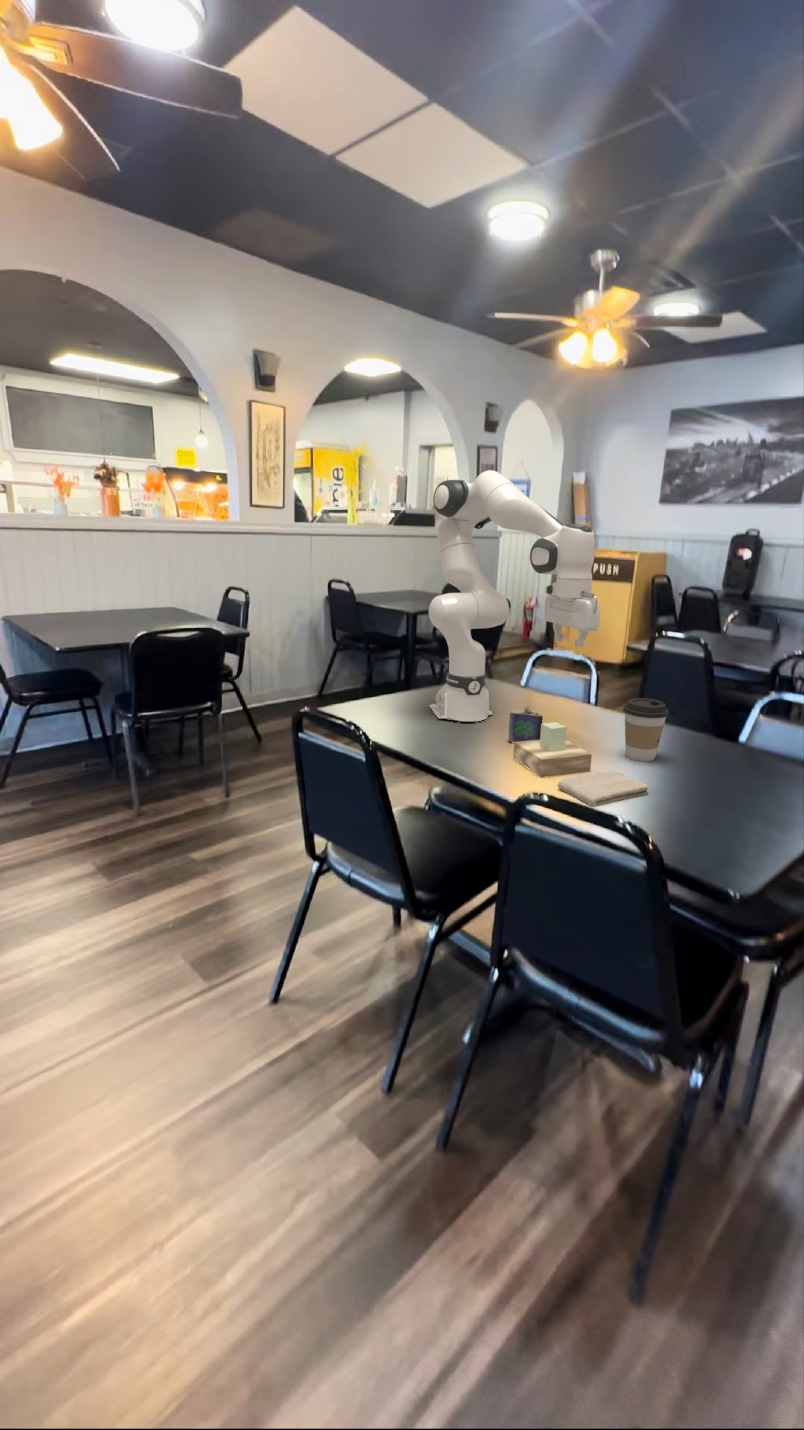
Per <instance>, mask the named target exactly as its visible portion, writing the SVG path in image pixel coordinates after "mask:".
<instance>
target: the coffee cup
mask: <svg viewBox="0 0 804 1430" xmlns="http://www.w3.org/2000/svg"><path fill="white" fill-rule="evenodd" d="M666 707H667V706H666V703H665V702H663V701H660V700H658V699H653V698H645V697H644V698H642V697H639V698H637V697H636V698H631V699H629V700H628V701H627V704H625V705H623V708H622V712H624V734H625V735H624V736H625V737H624V738H625V754H626V755H625V756H626V757H627V758H628V759H630V760H632V761H635V762H636V761H637V762H642V763H643V762H645V763H647V762H653V761H654V760H655V758H656V756H657V751H658V748H659V744H660V741H661V737H662V733H663V730H664V725H665V722H666V719H667V717H668V716H669V715H670V714H669V709H668V708H666Z"/></svg>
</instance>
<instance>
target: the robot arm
mask: <svg viewBox="0 0 804 1430" xmlns="http://www.w3.org/2000/svg"><path fill="white" fill-rule="evenodd" d="M432 498H433V499H432V503H433V508H434V510H435V512H437V514H439V515H441V516H443V517H445V518H444V519H443V520H441V521H440V523H439V524H438V526H437V544H438V545H437V546H438V553H439V559H440V563H441V569H442V573H443V574H442V575H443V577H444V580H445V581H446V582H447V583H448V584H450V585H451V586H453V587H454V588H456V589H458V591H460V592H448V593H444V594H439V595H437V596H435V597H433V598H432V600H431V602H430V604H429V607H428V617H429V620H430V622H431V624H432V625H433V627H435V628H436V629H438V630H439V632H440V633H441V634H442V635H443V637H444V638H445V640H446V643H447V647H448V658H449V659H448V661H449V662H448V670H449V671H448V672H446V677H445V678H446V679H445V684H444V685H443V686H442V687H441V688H440V689H439V690H438V691H437V694H435V695H434V702H435V703H431V704H429V707H431V709H432V710H433V711H434V713H435V714H436V715H437V717H439V718H451V719H454V720H459V721H481V720H484V719H486V718H487V717H488V715H492V716H493V711H491V710H490V698H489V697H490V696H489V690H488V689H487V688H486V687H485V686H486V685H487V684H486V682H487V674H486V672H485V671H486V654H487V653H486V650H485V648H484V646H483V644H481V643H480V642H479V641H476V640H474V639H473V638H472V634H471V632H472V630H474V629H475V630H476V629H490V628H494V627H497V626H501V625H504V624H505V622H506V621H507V619H508V617H509V615H510V614H509V613H510V606H509V601H508V599H507V598H506V596H504V595H503V594H502V593H500V592H499V591H497V590H496V589H495V588H494V587H492V586H491V584H490V583H489V582H488V580H487V579H486V577H485V575H484V574H483V572H482V570H481V567H480V563H479V560H478V555H477V551H476V546H475V543H474V538H473V537H474V536H473V531H474V529H476V530H480V529H482V528H484V526H485V525H487V524H489V523H490V522H493V523H494V524H496V525H497V526H499V527H500V528H502V529H505V530H508V531H509V530H511V531H517V532H524V533H530V534H532V535H533V534H534V535H536V536H539V537H540V538H538V539H537V540H536V541H535V542H534V543H533V544H532V546H531V548H530V553H529V562H530V565H531V567H532V569H533V571H535V572H536V573H538V574H541V575H556V578H555V579H556V581H555V582H553V583H551V584H548V585H546V586H545V590H544V593H545V594H546V597H545V601H544V613H543V614H544V618H545V621H546V622H549V623H552V628H553V633H554V640H555V641H556V642H557V641H558V642H563V641H564V633H563V631H562V628H563V626H564V627H568V628H572V629H576V630H577V633H578V636H577V638H576V639H575V640H574V646H575V647H576V648H583V647H585V640H586V638H588V634H589V632H597V631H598V629H599V628H600V603H599V599H598V598H597V597H596V594H595V593H594V592H593V593H592V585H593V574H592V573H593V572H592V567H593V564H594V560H595V554H596V551H595V550H596V546H595V545H596V538H595V532H594V530H593V528H591V527H590V526H588V525H585V524H579V523H567V524H564V523H562V522H560V520H559V519H557V518H556V517H555V516H553V515H552V514H551V513H550V512H549V511H547V510H546V509H544V508H543V507H542V506H540V505H538V504H537V503H536V502H535V501H534V500H532V499H530V497H528V496H527V495H526V494H525V493H524V492H522V490H520V488H518V486H516V485H515V483H513V482H512V480H510V479H509V478H508V477H506V476H505V475H503V474H502V473H500V472H498V471H496V470H491V469H490V470H488V469H487V470H485V471H483V472H481V473H480V474H479V475H478V476H477V477H476V478H475V480H474V481H473V482H468V481H465V480H463V479H462V480H461V479H447V480H444V481H443V480H442V482H440V483H439V484H438V485H437V487H436V488H435V490H434V492H433V497H432ZM436 704H437V705H436ZM431 709H430V710H431ZM440 715H441V716H440ZM488 718H489V717H488ZM488 718H487V719H488ZM487 719H486V720H487ZM484 721H485V720H484ZM481 722H482V721H481Z"/></svg>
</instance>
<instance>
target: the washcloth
mask: <svg viewBox="0 0 804 1430" xmlns="http://www.w3.org/2000/svg"><path fill="white" fill-rule="evenodd" d="M557 787H558V789H559V790H561V791H563V792H564V793H566V794H568V795H571V796H572V797H575V798H576V797H577V798H576V799H577V800H578V801H579V800H580V801H581V800H582V801H581V802H583V803H586V804H587V803H589V804H591V805H597V806H601V805H605V804H606V805H607V804H609V803H615V802H618V801H623V800H627V799H631V798H635V797H640V796H645V795H649V791H648V790H649V785H647V784H645V783H643V782H641V781H636V780H634V779H632V778H630V777H629V776H627V775H625V774H624V773H620V772H618V771H616V770H608V771H597V770H595V771H593V772H590V773H589V772H588V773H585V774H580V775H579V774H578V775H575V776H572V777H567V778H563V779H562V780H560V781H559V782H558V783H557ZM589 804H588V805H589ZM591 805H590V806H591Z"/></svg>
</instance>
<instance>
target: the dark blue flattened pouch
mask: <svg viewBox="0 0 804 1430" xmlns="http://www.w3.org/2000/svg"><path fill="white" fill-rule="evenodd" d="M543 719H544V718H543V714H541V713H538V712H537V711H536V712H534V711H532V710H531V709H530V706H529V705H528V706H525V707H523V711H517V710H513V711H512V710H511V711H510V712H509V727H508V739H507V742H508V741H509V742H508V743H510V742H519V741H529V740H540V734H541V724H543Z"/></svg>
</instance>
